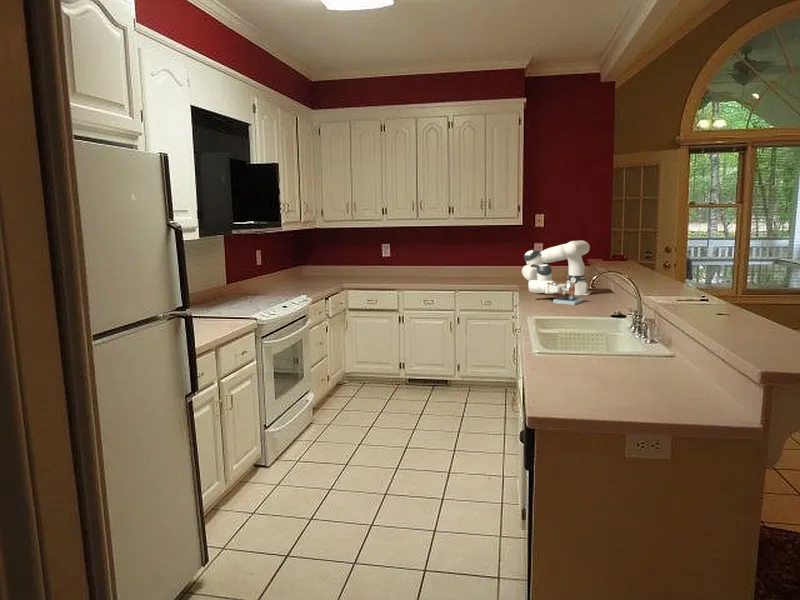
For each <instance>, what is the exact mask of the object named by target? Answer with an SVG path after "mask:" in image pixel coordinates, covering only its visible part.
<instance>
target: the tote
mask: <svg viewBox="0 0 800 600" xmlns="http://www.w3.org/2000/svg"><path fill="white" fill-rule="evenodd" d="M552 303H553V304H561V305H572V306H575V305H579V304H581V303H584V298H582V297H574V300H565V296H561V297H558V298H555V299H553V300H552Z"/></svg>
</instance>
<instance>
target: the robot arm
mask: <svg viewBox="0 0 800 600" xmlns="http://www.w3.org/2000/svg"><path fill="white" fill-rule="evenodd" d="M590 248H591V246H590V244H589V242H587V241H586V240H570V241H568V242H567V243H563V244H562V243H561V244H559V245H556V246H551V247H548V248H546V249H543V250H541V251H540V250H536V249H529V250H528V251H526V252H525V253H524V254H523V259H524V261H525V262H526V265H524V266H523V267H522V269H521V274H522V276H523V278H524V279H525V280H526V281H528V282H527V290H528V292H530V293H536V294H546V295H547V294H548V295H554V294H557V293H558V294H559V293H562V294H564V295H565V291H569V290H570V288H565V283H557V282H556V281H555V280H553V277H552V276H553V275H552V274H553V273H552V270H553V269H552V268H553V267H552V266H550V264H549V263H555V262H560V261H564V260H567V262H568V269H567V270H568V274H567V281H566V282H574V283H575V296H589V295H590V294H592V291H589V285H588V283H587V282H586V278H587V276H586V274H585V263H584V261H583V256H584V255H586V254H588V253H589V252H590Z"/></svg>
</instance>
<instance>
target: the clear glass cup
mask: <svg viewBox="0 0 800 600" xmlns="http://www.w3.org/2000/svg"><path fill="white" fill-rule="evenodd" d="M564 284H565V288H570V290H569V291H564V292H565V294H564V297H565V300H574V298H576V297H575V296H576V295H575V283H574V282H567V281H566V282H565V283H564Z"/></svg>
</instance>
